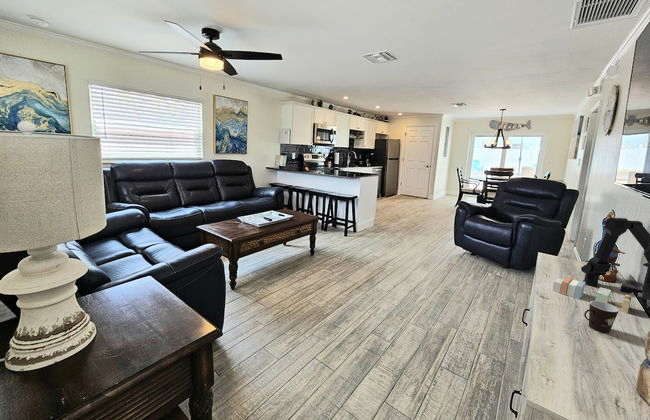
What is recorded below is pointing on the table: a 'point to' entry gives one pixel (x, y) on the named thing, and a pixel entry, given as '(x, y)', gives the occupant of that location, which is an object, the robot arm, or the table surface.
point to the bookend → (624, 304)
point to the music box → (612, 260)
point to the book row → (569, 287)
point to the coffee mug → (601, 316)
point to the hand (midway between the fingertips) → (646, 312)
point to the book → (603, 295)
